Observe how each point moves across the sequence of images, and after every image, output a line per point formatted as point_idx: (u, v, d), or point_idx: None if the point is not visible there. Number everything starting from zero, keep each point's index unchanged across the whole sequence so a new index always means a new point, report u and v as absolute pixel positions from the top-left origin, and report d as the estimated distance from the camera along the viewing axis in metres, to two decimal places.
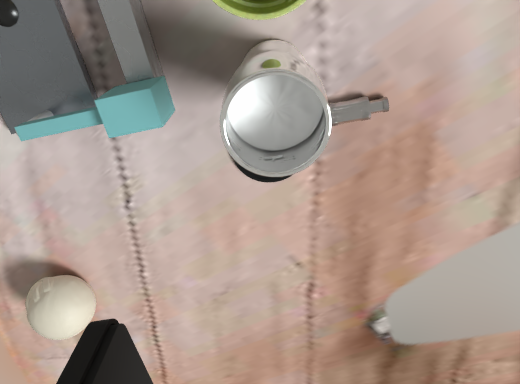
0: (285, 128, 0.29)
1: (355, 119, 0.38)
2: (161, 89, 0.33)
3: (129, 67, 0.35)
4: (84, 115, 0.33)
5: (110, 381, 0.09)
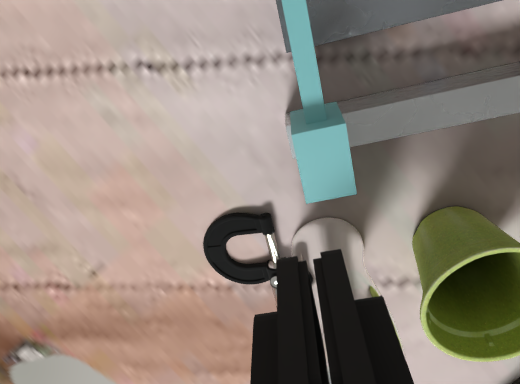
0: None
1: None
2: None
3: (357, 120, 0.28)
4: (317, 89, 0.23)
5: (313, 308, 0.09)
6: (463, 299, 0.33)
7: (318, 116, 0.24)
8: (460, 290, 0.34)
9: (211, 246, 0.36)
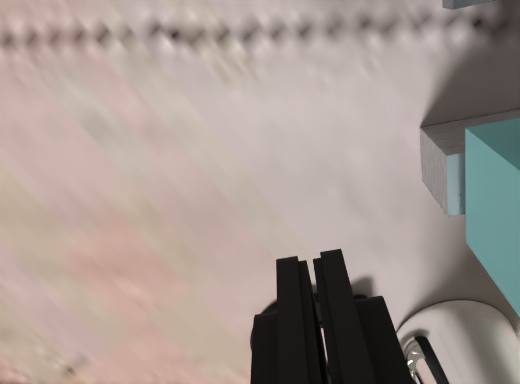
0: None
1: None
2: None
3: None
4: None
5: (313, 308, 0.09)
6: None
7: None
8: None
9: None
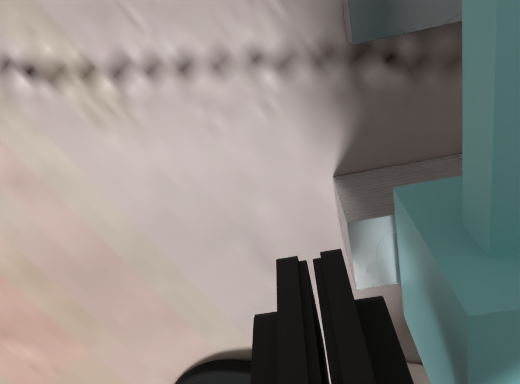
0: None
1: None
2: None
3: None
4: None
5: (313, 308, 0.09)
6: None
7: None
8: None
9: None
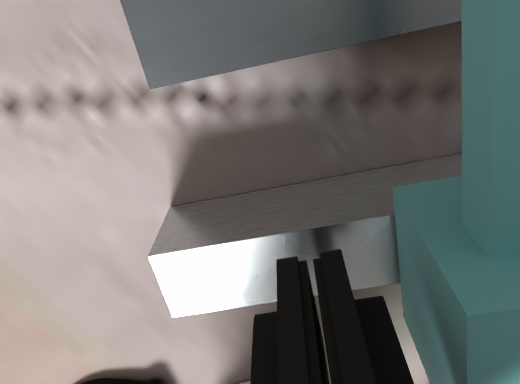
0: None
1: None
2: None
3: (310, 249, 0.12)
4: None
5: (313, 308, 0.09)
6: None
7: None
8: None
9: None
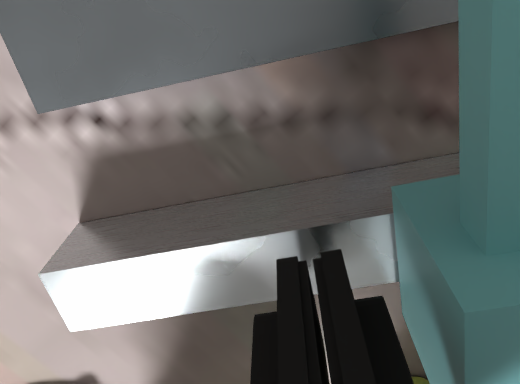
0: None
1: None
2: None
3: (192, 267, 0.12)
4: None
5: (313, 308, 0.09)
6: None
7: None
8: None
9: None
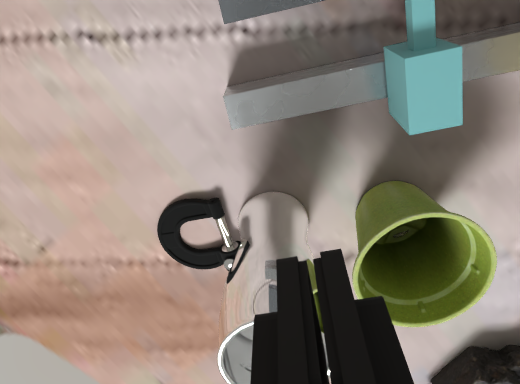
0: None
1: None
2: None
3: (293, 91, 0.28)
4: (430, 13, 0.23)
5: (313, 308, 0.09)
6: (402, 270, 0.34)
7: (427, 42, 0.23)
8: (399, 262, 0.35)
9: (165, 233, 0.37)
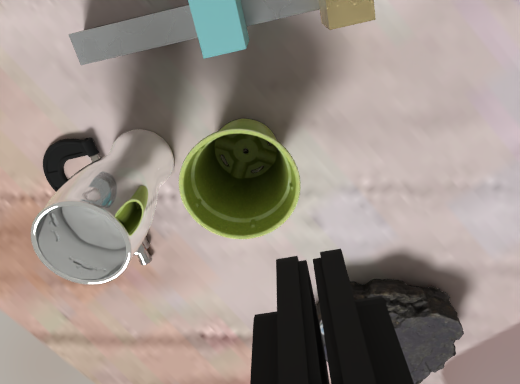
0: (85, 223, 0.31)
1: None
2: None
3: (127, 29, 0.33)
4: None
5: (313, 308, 0.09)
6: (249, 197, 0.38)
7: None
8: (249, 192, 0.39)
9: (50, 172, 0.42)
